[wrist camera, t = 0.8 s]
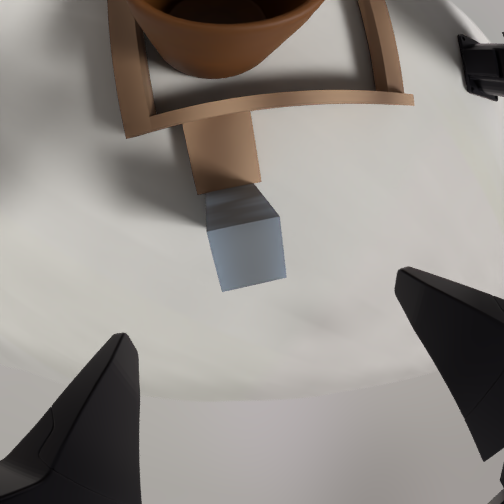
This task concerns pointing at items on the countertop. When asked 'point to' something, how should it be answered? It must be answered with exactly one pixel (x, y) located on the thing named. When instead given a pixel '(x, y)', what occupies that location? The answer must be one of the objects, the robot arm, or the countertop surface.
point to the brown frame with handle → (238, 141)
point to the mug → (219, 31)
